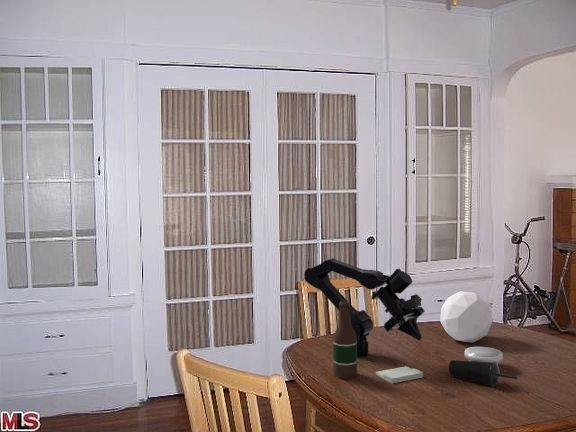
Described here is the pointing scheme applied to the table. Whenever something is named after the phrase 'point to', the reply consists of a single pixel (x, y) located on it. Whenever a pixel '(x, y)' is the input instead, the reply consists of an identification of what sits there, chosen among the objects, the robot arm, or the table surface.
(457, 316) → the ball
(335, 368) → the beer bottle
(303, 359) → the table surface
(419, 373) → the napkin
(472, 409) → the table surface
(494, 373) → the drinking cup
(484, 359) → the bowl
